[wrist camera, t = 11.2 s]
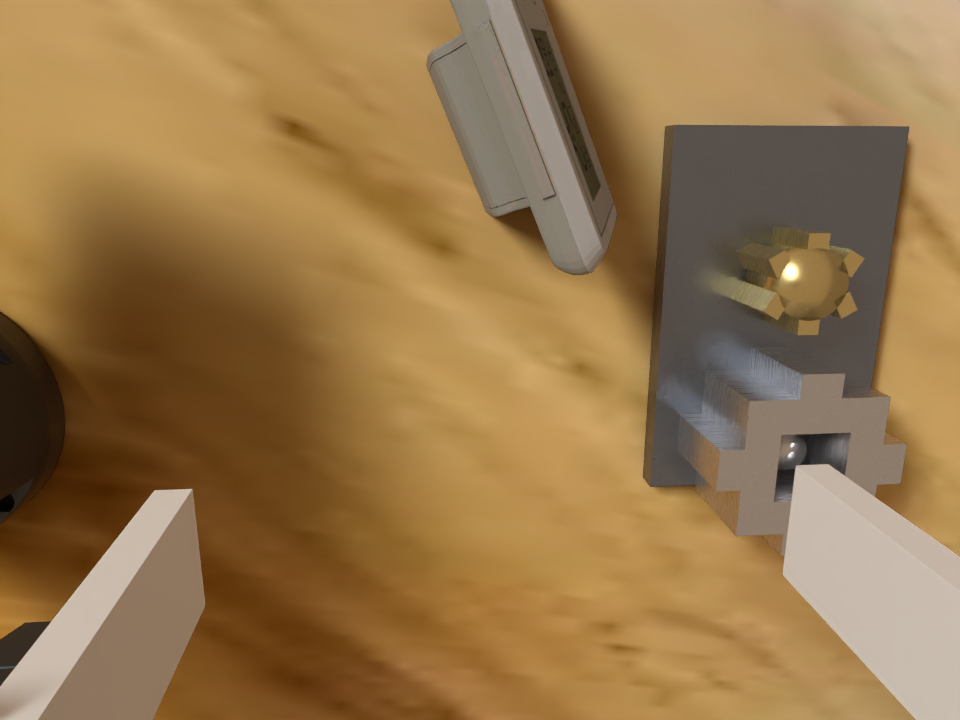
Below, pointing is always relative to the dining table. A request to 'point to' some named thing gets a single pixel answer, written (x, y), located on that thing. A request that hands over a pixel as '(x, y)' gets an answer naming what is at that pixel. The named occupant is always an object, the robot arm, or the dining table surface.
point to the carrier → (766, 262)
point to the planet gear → (757, 437)
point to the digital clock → (524, 127)
